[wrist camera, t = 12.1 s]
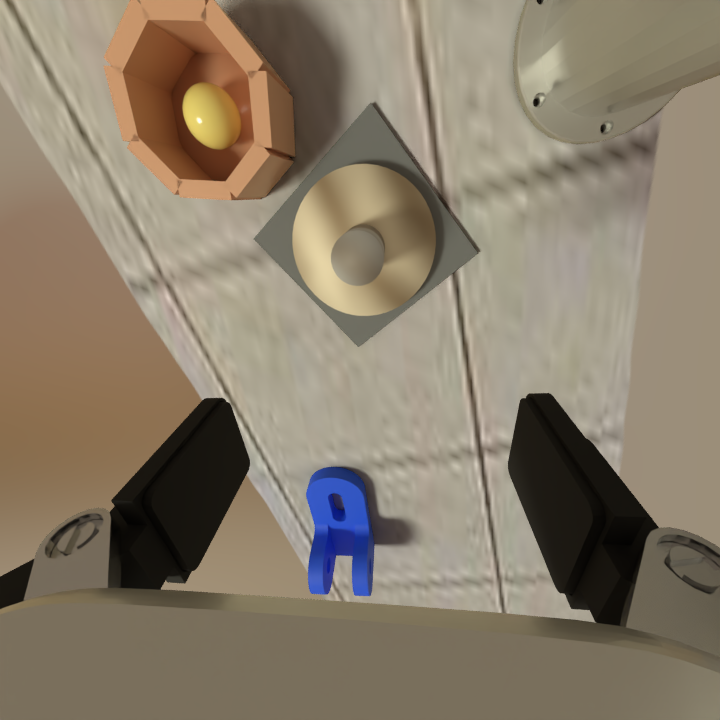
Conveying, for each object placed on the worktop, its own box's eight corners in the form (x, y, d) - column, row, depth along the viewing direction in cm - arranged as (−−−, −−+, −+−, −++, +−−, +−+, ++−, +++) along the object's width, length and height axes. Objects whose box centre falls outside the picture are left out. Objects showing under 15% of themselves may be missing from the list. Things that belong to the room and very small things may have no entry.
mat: (370, 103, 25) (370, 102, 24) (476, 252, 29) (477, 253, 29) (255, 238, 30) (253, 238, 30) (358, 345, 35) (358, 347, 34)
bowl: (215, -6, 22) (161, -67, 17) (320, 129, 26) (302, 112, 20) (144, 121, 26) (82, 103, 21) (242, 224, 30) (210, 230, 24)
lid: (369, 125, 25) (362, 104, 19) (462, 251, 29) (481, 266, 23) (268, 240, 30) (238, 252, 24) (359, 335, 34) (353, 365, 28)
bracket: (374, 543, 52) (371, 606, 44) (326, 542, 53) (314, 603, 45) (361, 465, 44) (354, 525, 36) (304, 466, 45) (286, 525, 37)
